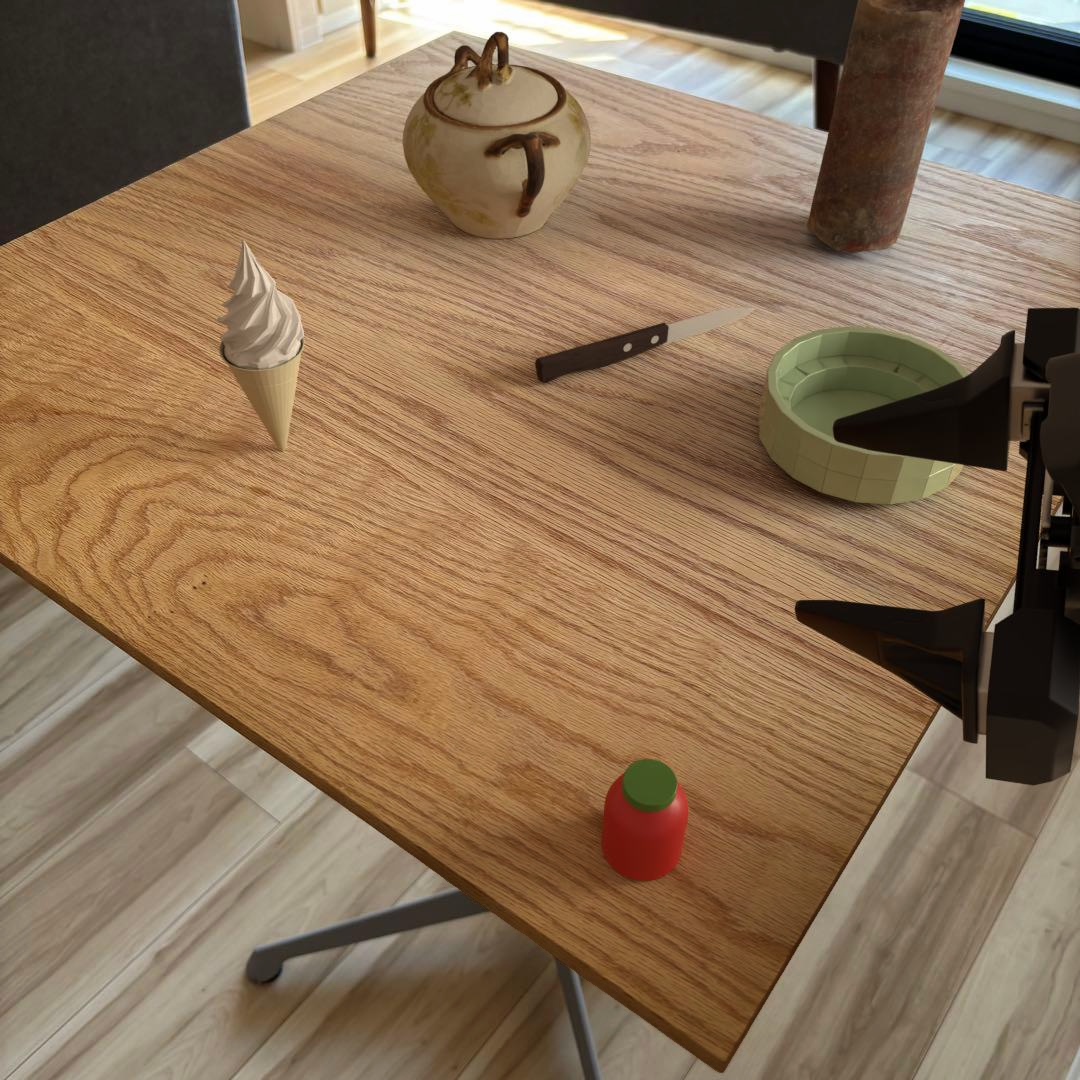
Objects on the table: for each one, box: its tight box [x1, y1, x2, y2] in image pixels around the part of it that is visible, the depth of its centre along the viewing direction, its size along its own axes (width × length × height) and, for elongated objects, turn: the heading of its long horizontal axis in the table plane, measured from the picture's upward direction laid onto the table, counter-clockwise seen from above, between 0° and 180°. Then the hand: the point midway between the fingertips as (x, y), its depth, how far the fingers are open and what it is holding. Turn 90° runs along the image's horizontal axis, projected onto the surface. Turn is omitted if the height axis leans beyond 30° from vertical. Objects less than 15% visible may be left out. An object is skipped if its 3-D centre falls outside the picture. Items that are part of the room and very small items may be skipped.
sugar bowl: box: [402, 31, 592, 240], centre depth 90 cm, size 20×15×15 cm
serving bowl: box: [757, 326, 970, 506], centre depth 73 cm, size 13×13×4 cm
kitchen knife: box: [534, 307, 756, 384], centre depth 81 cm, size 18×1×2 cm, turn 117°
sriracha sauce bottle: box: [600, 758, 689, 882], centre depth 51 cm, size 4×4×5 cm
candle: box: [806, 0, 966, 254], centre depth 85 cm, size 8×7×20 cm
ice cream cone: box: [215, 240, 306, 452], centre depth 68 cm, size 5×5×15 cm
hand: (815, 516), depth 47 cm, fingers open, 9 cm apart
